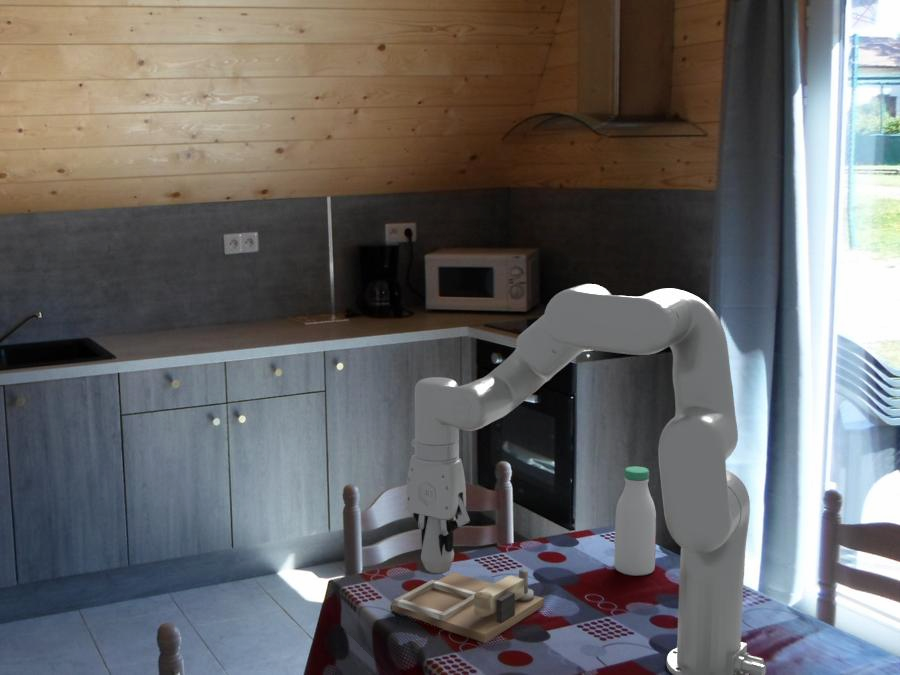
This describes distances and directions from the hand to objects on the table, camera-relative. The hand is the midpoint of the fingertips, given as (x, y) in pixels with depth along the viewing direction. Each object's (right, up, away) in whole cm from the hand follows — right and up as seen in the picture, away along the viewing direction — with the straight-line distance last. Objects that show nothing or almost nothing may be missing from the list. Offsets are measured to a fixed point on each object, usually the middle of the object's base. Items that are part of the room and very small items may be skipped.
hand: (437, 551), depth 185 cm
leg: (+10, -8, -3) cm, 14 cm away
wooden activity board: (+5, -11, +2) cm, 12 cm away
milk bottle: (+38, -8, +20) cm, 43 cm away
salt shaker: (0, -3, +1) cm, 3 cm away
